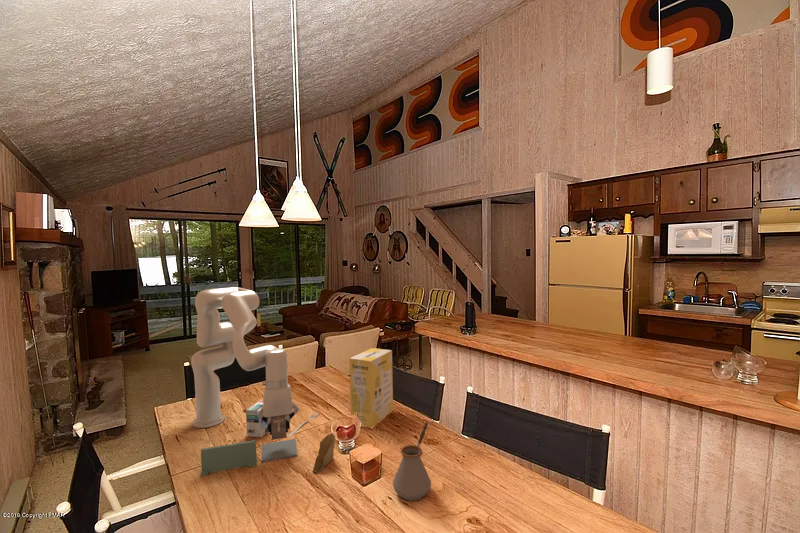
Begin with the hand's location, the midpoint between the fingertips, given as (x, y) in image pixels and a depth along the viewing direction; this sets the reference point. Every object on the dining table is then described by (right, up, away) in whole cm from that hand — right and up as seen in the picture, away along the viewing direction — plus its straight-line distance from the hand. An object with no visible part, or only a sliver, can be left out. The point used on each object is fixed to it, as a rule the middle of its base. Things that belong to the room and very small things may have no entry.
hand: (279, 431), depth 137 cm
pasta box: (+32, -6, +27) cm, 42 cm away
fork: (+3, -7, +20) cm, 21 cm away
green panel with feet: (-13, -8, -10) cm, 19 cm away
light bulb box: (-13, -7, +16) cm, 22 cm away
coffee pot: (+50, -7, -20) cm, 54 cm away
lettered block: (0, -1, 0) cm, 1 cm away
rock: (+18, -8, -9) cm, 21 cm away
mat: (0, -7, 0) cm, 7 cm away
